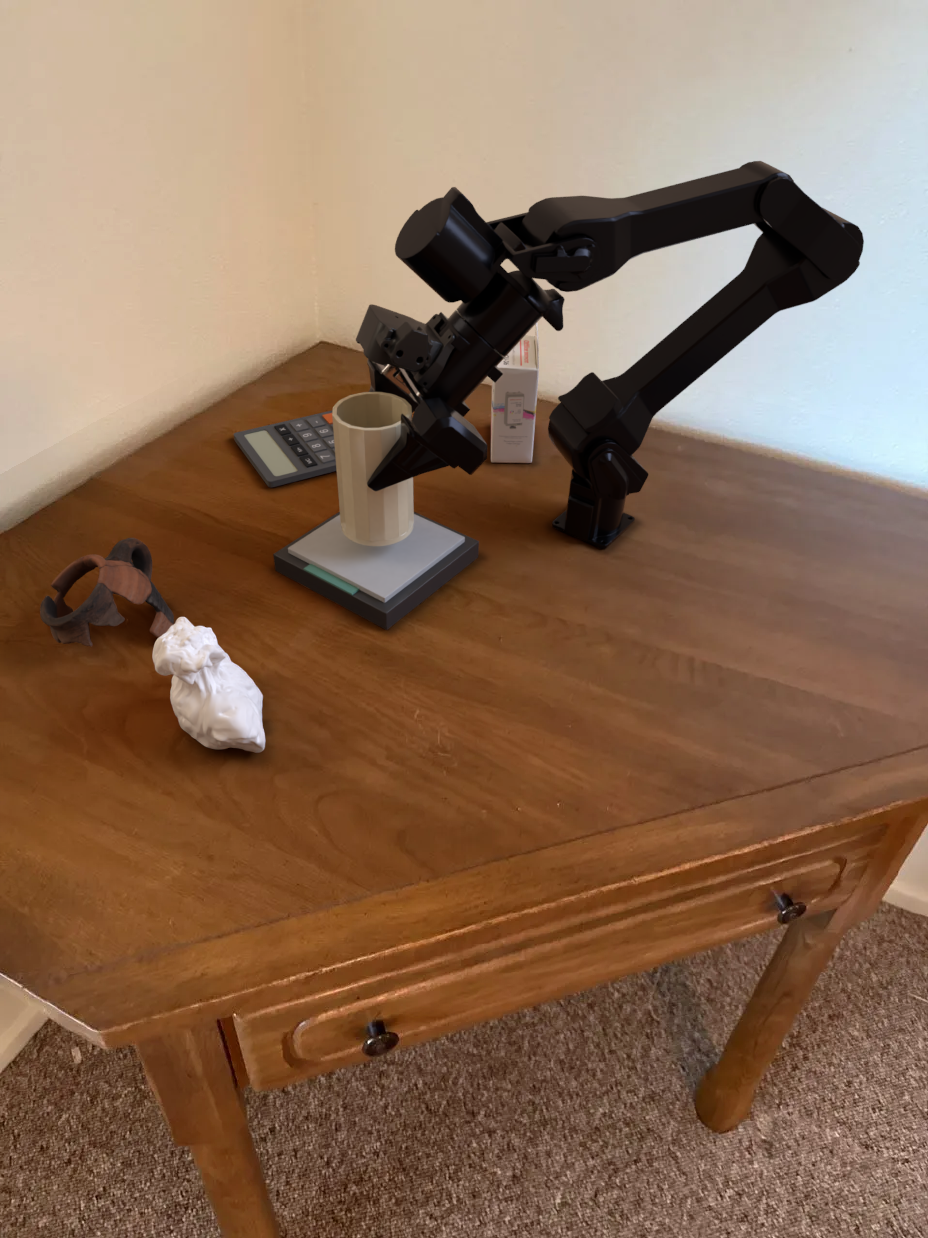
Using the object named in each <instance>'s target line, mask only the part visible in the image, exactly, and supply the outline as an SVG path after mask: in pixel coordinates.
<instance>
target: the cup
mask: <svg viewBox="0 0 928 1238" xmlns="http://www.w3.org/2000/svg"><path fill="white" fill-rule="evenodd" d="M332 410H333V411H332ZM332 410H331V411H332V418H333V431H334V444H335V457H336V470H337V471H336V481H337V495H338V496H337V497H338V507H339V512H340V521H341V528H342V531H343V533H344V535H345V536H346V537H347V538H348V539H350V540H351V541H353V542H355V543H358V544H361V545H366V546H386V545H391V544H394V543H397V542H400V541H402V540H403V539H405V538H406V537H407V536H408V535H409V534H410V533H411V532H412V530H413V527H414V512H415V507H414V506H415V505H414V502H415V501H414V500H415V499H414V477H412V478H410V479H407V480H405V481H402V482H399V483H397V484H394V485H392V486H389V487H386V488H384V489H381V490H379V491H374V490H372V489H371V488H369V487H368V485H367V482H368V480H369V479H370V477H371V476H372V474H373V472H374V471H375V470H376V468H377V467H378V466H379V464H380V463H381V462H382V460H383V459H384V458H385V456H386V455H387V454H388V452H389V451H390V450H391V448H392V447H393V446H394V444H395V443H396V442H397V440H398V439H399V437H400V435H401V414H403V415H405V416H406V417H407V418H409V419H410V420H411V421H412V418H413V413H412V406H411V405H410V404H409V403H408V402H407V401H406V400H405V399H403V398H401V397H399V396H397V395H394V394H389V393H383V392H369V391H363V392H358V393H354V394H349V395H347V396H345V397H343V398H341V399H339V400H338V401H337V402H336V403H335V404H334V406H333V407H332Z"/></svg>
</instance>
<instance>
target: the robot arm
mask: <svg viewBox="0 0 928 1238" xmlns="http://www.w3.org/2000/svg"><path fill="white" fill-rule="evenodd" d="M750 225H754V226H755V227H756V228H757V229H758V230H759V231H760V232H761V234H760V235H759V236H758V237H757V239H756V240H755V242H754V244H753V247H752V249H751V252H750V254H749V256H748V259H747V261H746V263H745V265H744V268H743V269H742V270H741V271H740V273H739V274H737V275H736V276H735V277H734V278H732V280H730V281H729V282H728V283H727V284H726V285H724V286H723V287H722V288H721V289H720V290H719V291H717V292H716V293H715V294H714V295H713V296H712V297H710V298H709V299H708V300H707V301H706V302H705V303H703V305H701V306H700V307H699V308H698V309H697V310H695V311H694V312H693V313H692V314H691V315H689V316H688V317H687V318H686V319H685V320H683V321H682V322H681V323H680V324H679V325H678V326H677V327H675V328H674V329H673V330H672V331H671V332H669V333H668V334H667V335H666V336H665V337H664V338H663V339H661V340H660V341H658V343H656V345H654V346H653V347H652V348H651V349H650V350H648V351H647V352H646V353H645V354H644V355H642V357H641V358H639V359H638V360H637V361H636V362H635V363H634V364H632V365H631V366H630V367H629V368H628V369H626V370H625V371H624V372H623V373H621V374H619V375H617V376H615V377H614V376H613V377H611V378H606V379H603V380H602V379H601V378H600V377H599V376H598V375H597V374H596V373H595V372H593V371H591V372H589V373H587V374H586V375H584V376H583V377H582V378H581V379H580V381H579V382H578V383H577V384H576V385H575V386H574V387H573V388H572V389H570V390H569V391H568V392H565V393H564V394H561V395H559V396H558V397H557V400H558V401H559V402H560V403H558V404H557V405H556V407H554V409H553V410H552V411H551V413H550V414H549V416H548V419H549V421H548V424H547V425H548V426H547V433H548V438H549V440H550V442H551V444H553V446H554V447H555V448H556V449H557V451H558V452H559V453H560V455H561V456H562V457H563V459H564V460H565V461H566V462H567V463H568V464H569V466H570V467H571V474H570V481H569V490H568V498H567V503H566V504H567V505H566V510H565V511H563V512H562V513H561V514H560V515H558V516H557V517H556V518H555V519H553V521H552V522H551V527H552V528H553V529H555V530H557V531H560V532H562V533H565V534H567V535H568V536H571V537H574V538H576V539H578V540H581V541H583V542H585V543H587V544H590V545H592V546H594V547H598V548H600V549H603V550H604V549H607V548H609V547H610V546H611V545H613V543H614V542H615V541H616V540H618V538H620V537H621V536H622V535H623V534H624V533H625V532H626V531H627V530H628V529H629V528H630V527H632V526H633V525H634V524H635V521H636V517H635V516H633V515H631V514H627V513H625V512H624V510H625V506H626V505H625V504H626V498H627V496H630V495H631V494H636V493H640V492H641V490H642V489H643V487H644V485H645V483H646V481H647V479H648V477H649V472H648V471H647V470H646V469H645V468H644V466H643V465H642V464H641V463H640V462H639V461H638V460H637V459H636V458H635V456H634V454H635V452H637V450H638V449H639V448H640V447H641V445H642V444H643V441H644V440H645V436H646V434H647V432H648V430H649V427H650V425H651V424H652V423H651V422H652V420H653V418H654V417H655V416H656V415H657V414H658V413H659V412H660V411H661V410H662V409H663V408H665V407H666V406H667V405H668V404H670V402H672V401H673V400H674V399H675V398H677V397H678V396H679V395H680V394H681V393H682V392H684V391H685V390H686V389H688V388H689V387H690V386H691V385H692V384H693V383H695V382H696V381H697V380H698V379H699V378H701V377H702V376H703V375H704V374H705V373H706V372H708V371H709V370H710V369H711V368H712V367H714V366H715V365H716V364H718V362H719V361H720V360H722V359H723V358H725V356H727V355H728V354H729V353H730V352H731V351H733V350H734V349H735V348H736V347H738V346H739V345H740V344H741V343H742V342H744V341H745V340H746V339H747V338H748V337H750V336H751V335H752V334H753V333H754V332H755V331H757V330H758V329H759V328H760V327H761V326H762V325H764V324H765V323H766V322H767V321H769V320H770V319H771V318H772V317H773V316H775V315H776V314H778V313H779V312H781V311H785V310H788V309H792V308H796V307H799V306H802V305H807V304H810V303H813V302H815V301H817V300H819V299H820V298H821V297H823V296H825V295H826V294H829V293H830V292H832V291H833V290H835V289H836V288H837V287H840V286H841V285H842V284H843V283H845V282H847V281H848V279H850V278H851V277H852V275H854V274H855V272H856V271H857V269H858V268H859V267H860V264H861V262H860V260H861V257H862V254H863V251H864V244H865V241H864V234H863V232H862V230H861V228H860V226H858V225H857V224H855V223H853V222H851V221H849V220H847V219H845V218H843V217H841V216H839V215H837V214H836V213H833V212H832V211H830V210H828V209H826V208H824V207H823V206H821V205H820V204H818V203H817V201H815V200H813V199H812V198H811V197H810V196H809V195H808V194H806V193H805V192H804V191H803V190H802V189H801V187H800V186H798V184H797V183H796V182H795V180H794V179H793V178H792V177H791V174H788V173H787V172H785V171H783V170H780V169H778V168H777V167H774V166H773V165H770V164H769V163H766V162H764V161H762V160H753V161H748V162H746V163H744V164H743V165H741V166H740V167H738V168H734V169H729V170H726V171H723V172H718V173H714V174H710V175H706V176H702V177H697V178H694V179H691V180H687V181H683V182H679V183H675V184H672V185H667V186H664V187H660V188H656V189H652V190H649V191H645V192H640V193H636V194H632V195H629V196H625V197H612V198H611V197H610V198H609V197H600V196H590V195H570V196H554V197H546V198H543V199H541V200H539V201H536V202H535V203H533V204H532V205H531V206H530V207H529V208H528V211H527V212H522V213H519V214H515V215H511V216H506V217H502V218H498V219H494V220H489V221H486V220H485V219H484V218H483V217H482V216H481V215H480V214H479V213H478V212H477V210H476V208H475V206H474V204H473V203H472V202H471V201H470V199H468V198H467V197H466V196H465V195H464V193H462V191H460V190H459V189H458V187H456V186H452V187H451V188H450V189H449V190H448V191H447V192H446V193H445V195H444V196H442V197H437V198H434V199H432V200H430V201H429V202H428V203H426V204H424V206H422V207H421V208H419V209H416V210H414V211H413V212H412V214H410V216H409V217H408V219H406V221H405V223H404V224H403V226H402V227H401V229H400V231H399V233H398V235H397V237H396V241H395V243H394V253H395V256H396V258H398V259H399V260H400V261H401V262H402V263H403V264H405V266H406V267H408V269H410V270H411V271H412V272H413V273H414V274H415V275H416V276H417V277H418V278H420V280H422V281H423V283H425V284H426V285H427V286H428V287H429V288H430V289H432V290H433V291H434V293H435V294H437V295H438V296H439V297H440V298H441V299H442V300H443V301H444V302H446V303H450V304H451V303H452V304H453V303H456V302H457V303H458V302H460V301H461V303H460V304H459V306H458V307H457V308H456V309H455V310H454V311H453V312H452V313H451V314H450V315H449V316H448V317H447V316H446V315H445V314H444V313H443V312H442V311H440V312H439V313H435V314H433V315H432V316H431V317H430V319H429V320H428V321H427V322H422V321H420V320H417V319H415V318H413V317H410V316H408V315H406V314H402V313H399V312H397V311H393V310H391V309H388V308H386V307H382V306H380V305H376V304H371V303H370V304H369V305H368V307H367V310H366V312H365V314H364V317H363V319H362V322H361V324H360V327H359V329H358V332H357V334H356V336H355V342H356V344H359V345H360V346H361V348H362V349H363V352H362V353H363V355H364V356H365V358H366V359H367V361H366V363H367V367H368V370H369V380H370V387H369V390H368V392H383V393H389V394H394V395H397V396H399V397H401V398H403V399H405V400H406V401H407V402H408V403H409V404H410V405H411V406H412V421H411V420H410V419H409V418H407V417H406V416H405V415H403V414H401V435H400V437H399V439H398V440H397V442H396V443H395V444H394V446H393V447H392V448H391V450H390V451H389V452H388V454H387V455H386V456H385V458H384V459H383V460H382V462H381V463H380V464H379V466H378V467H377V468H376V470H375V471H374V472H373V474H372V476H371V477H370V479H369V480H368V482H367V485H368V487H369V488H371V489H372V490H374V491H379V490H381V489H384V488H386V487H389V486H392V485H394V484H397V483H399V482H402V481H405V480H407V479H410V478H412V477H413V478H415V477H418V476H420V475H423V474H427V473H430V472H434V471H437V470H440V469H445V468H446V467H450V468H452V469H456V468H458V467H459V468H460V469H461V470H462V471H464V472H465V473H466V474H467V475H469V476H472V475H473V474H475V472H476V471H477V470H478V469H479V468H480V467H481V466H482V465H483V464H484V463H485V462H486V460H488V449H489V448H488V447H489V445H488V444H487V442H486V440H485V439H484V438H483V436H482V435H481V434H480V432H479V431H478V430H477V428H476V427H475V426H474V424H472V423H471V422H470V421H469V420H467V419H466V418H465V416H466V415H467V414H468V413H469V412H470V411H471V408H470V407H469V406H468V404H467V403H466V401H467V399H469V398H470V396H471V395H472V394H473V393H474V392H475V390H477V388H479V386H481V384H482V383H483V382H484V381H485V380H486V379H487V378H489V379H490V380H491V382H492V381H494V382H496V381H497V380H498V379H499V378H500V377H501V376H502V375H503V373H502V372H501V371H500V370H499V368H498V367H497V365H498V364H499V363H500V362H501V361H502V360H503V359H504V357H506V356H507V355H508V353H509V352H510V351H511V350H512V349H513V348H514V347H515V346H516V345H517V344H518V343H519V342H520V340H521V339H522V338H523V337H524V336H527V334H528V333H529V332H530V331H531V330H532V329H533V328H534V327H535V324H536V323H537V324H538V322H540V320H541V319H542V318H543V319H544V320H545V322H547V324H548V325H550V326H551V327H552V328H553V329H554V330H555V331H557V332H561V331H562V330H564V313H563V310H564V309H563V308H564V303H565V297H564V296H563V295H562V294H561V293H560V292H566V293H571V292H578V291H581V290H583V289H586V288H588V287H590V286H592V285H594V284H596V283H599V282H601V281H603V280H606V279H607V278H610V277H612V276H614V275H615V274H617V272H618V271H619V270H620V269H621V268H622V267H623V266H624V265H626V264H627V263H628V262H629V261H630V260H632V259H634V258H637V257H639V256H641V255H643V254H646V253H650V252H653V251H658V250H662V249H666V248H669V247H673V246H676V245H680V244H683V243H687V242H691V241H696V240H699V239H703V238H706V237H710V236H713V235H717V234H721V233H724V232H728V231H731V230H736V229H739V228H743V227H747V226H750ZM506 260H508V261H509V262H510V263H511V264H512V265H513V266H514V267H515V268H516V269H517V270H512V271H510V272H509V271H507V270H506V268H504V267H503V266H502V264H503V263H504V262H505V261H506ZM535 279H536V280H545V281H546V282H547V283H548V284H549V285H551V286H552V287H554V288H550V289H549V288H548V289H543V287H542V286H541V285H540V284H539V283H538V282H537V281H536V280H535ZM556 289H557V290H556ZM558 290H559V291H558Z"/></svg>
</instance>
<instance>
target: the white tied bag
mask: <svg viewBox="0 0 928 1238" xmlns="http://www.w3.org/2000/svg"><path fill="white" fill-rule="evenodd" d="M151 659H152V662H153V665H154V670H155V672H156V673H157V674H158V675H161V676H164V677H165V676H170V675H172V678H171V686H170V687H171V688H170V692H169V694H170V695H169V700H170V704H171V707H172V710H173V713H174V715H175V717H176V718H177V721H178V725H179V726H180V728H181V729H182V730H183V731H184V732H185V733H186V734H188V735H189V736H190V737H191V738H192V739H195V740H196V742H198V743H200V744H201V745H202V746H204V747H205V748H208V749H212V750H227V749H228V748H233V749H240V750H244V751H246V752H252V753H256V754H260V753H262V752H263V751H264V750H265V748H266V733H265V730H264V726H263V725H264V724H263V699H264V695H263V693H262V691H261V689H260V687H258V685H256V682H254V679H252V678H251V677H250V675H249V674H248V673H247V672H246V671H245V670H244V669H243V668H242V667H241V666H239V665H238V664H236V663H234V662H233V661H232V660H231V657H230V656H229V654H228V653H227V652H225V650H224V649H223V648H222V647H221V646H220V645H219V643H218V639H217V635H216V634H215V632H214V631H213V629H212V627H208V626H207V627H205V626H204V625H196V626H195V625H194V624H193V623H192V622H191V621H190V620H189V619H188V618H187V617H185V616H179V617H178V618H177V619H176V620H175V621H174V624H173V625H172V626H171V627H170V628H169V629H168V631H167V632H166V633H165V634H163V635H162V636H160V637H159V638H157V639H156V640H155V642H154V645H153V649H152V657H151Z"/></svg>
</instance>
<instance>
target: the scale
mask: <svg viewBox="0 0 928 1238" xmlns="http://www.w3.org/2000/svg"><path fill="white" fill-rule="evenodd" d="M479 549H480V541H479V540H478V539H475V538H473V537H471V536H468V535H466V534H465V533H462V532H459V531H458V530H456V529H453V528H451V527H449V526H446V525H445V524H443V523H440V522H438V521H436V520H434V519H431V518H429V517H427V516H425V515H423V514H420V513H418V512H416V511H414V527H413V530H412V532H411V533H410V534H409V535H408V536H407V537H406V538H405V539H403V540H402V541H400V542H397V543H394V544H391V545H386V546H366V545H361V544H358V543H355V542H353V541H351V540H350V539H348V538H347V537H346V536H345V535H344V533H343V531H342V528H341V521H340V511H338V512H337V513H335V514H333V515H331V516H330V517H329V518H327V519H325V520H324V521H323V522H321V523H319V524H317V525H316V526H314V527H313V528H312V529H310V530H309V531H307V532H305V533H304V534H302V535H301V536H299V537H298V538H296V539H294V540H293V541H292V542H290V543H288V544H287V545H285V546H284V547H282V548H281V549H278V550H277V551H276V552H274V553H273V555H272V556H273V563H274V570H275V572H277V573H278V574H281V575H283V576H285V578H286V577H287V579H288V578H289V579H290V580H292V581H294V582H296V583H298V584H300V585H301V586H303V587H305V588H307V589H309V590H311V591H312V592H314V593H317V594H318V595H320V596H321V597H324V598H326V599H327V600H329V601H331V602H333V603H335V604H337V605H339V606H341V607H343V608H345V609H346V610H348V611H350V612H352V613H354V614H356V615H357V616H359V617H361V618H362V619H365V620H367V621H369V622H370V623H372V624H374V625H376V626H378V627H380V628H382V629H383V630H385V631H388V630H389V629H390V628H392V627H393V626H394V625H395V624H396V623H398V622H399V621H400V620H401V619H403V618H404V617H405V616H407V615H408V614H409V613H410V612H412V611H413V610H414V609H415V608H416V607H418V606H419V605H420V604H422V603H424V601H426V600H427V599H428V598H429V597H430V596H432V595H433V594H435V592H437V591H438V590H439V589H441V588H442V587H443V586H444V585H446V584H447V583H448V582H449V581H451V580H452V579H453V578H454V577H456V576H457V575H459V573H461V572H462V571H463V570H464V569H465V568H467V567H469V565H471V564H472V563H473V562H474V561H476V560H477V559H478V558H479Z"/></svg>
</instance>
